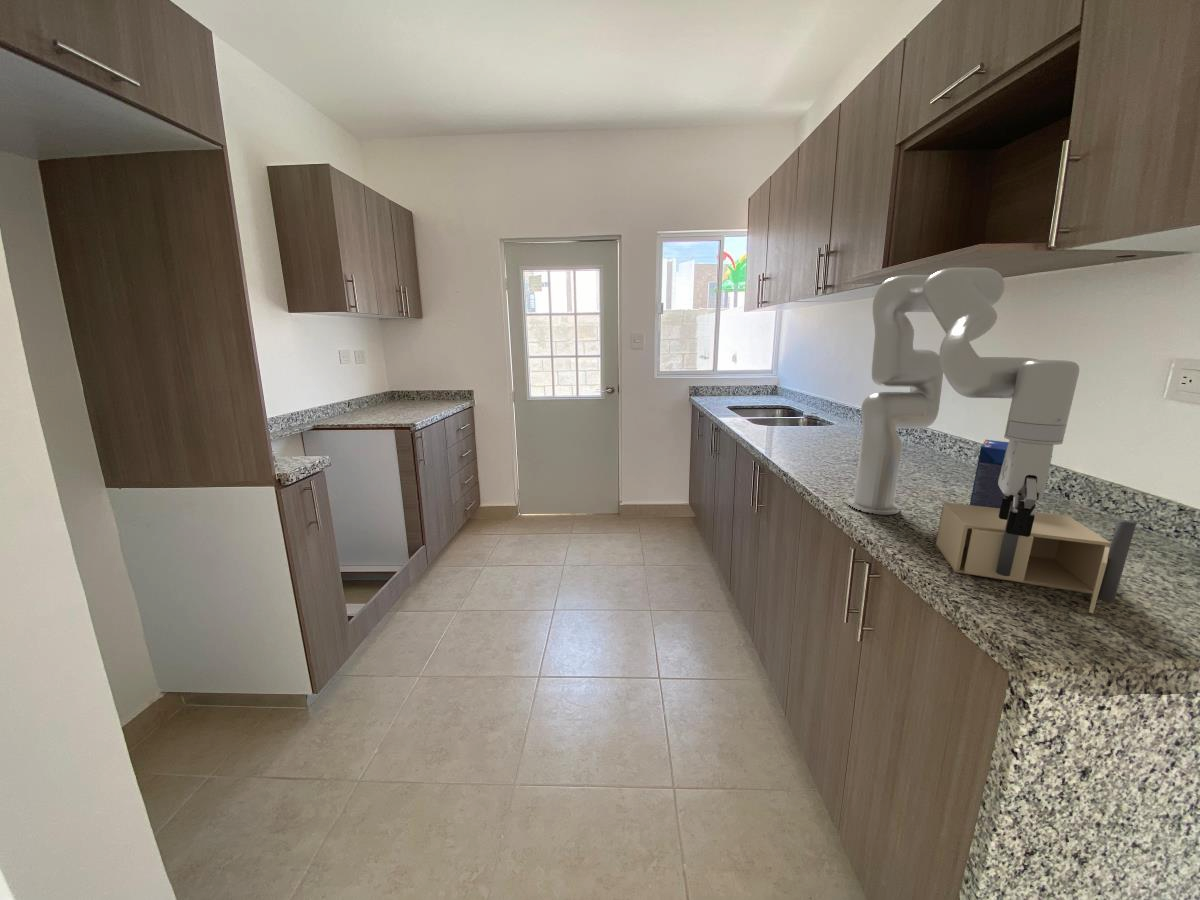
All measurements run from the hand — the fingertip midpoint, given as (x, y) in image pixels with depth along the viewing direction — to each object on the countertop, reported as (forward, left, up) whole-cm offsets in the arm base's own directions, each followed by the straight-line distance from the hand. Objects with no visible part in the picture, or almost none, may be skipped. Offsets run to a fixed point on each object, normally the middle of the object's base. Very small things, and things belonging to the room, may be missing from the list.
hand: (1013, 526), depth 84 cm
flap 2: (+4, +12, -11) cm, 17 cm away
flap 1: (0, -1, -11) cm, 11 cm away
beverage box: (-25, +5, -12) cm, 28 cm away
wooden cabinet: (-9, +4, -11) cm, 15 cm away
